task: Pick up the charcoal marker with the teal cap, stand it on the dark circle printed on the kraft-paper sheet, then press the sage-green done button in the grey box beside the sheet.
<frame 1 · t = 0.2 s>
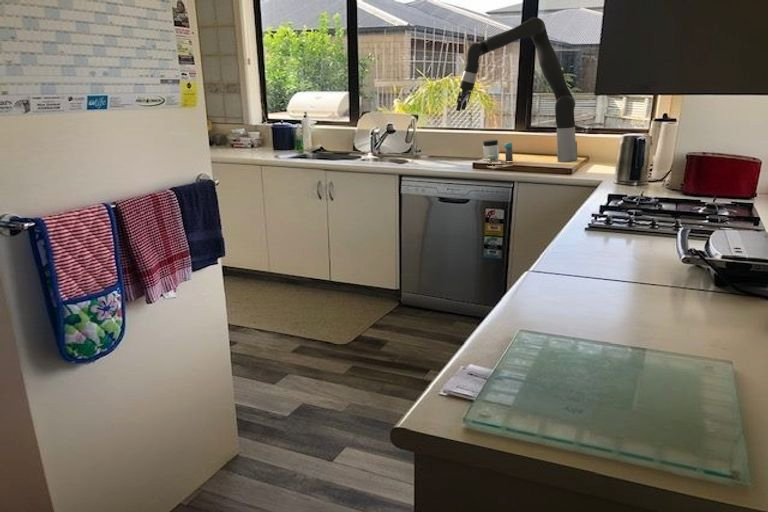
hand: (460, 110, 328), 31 cm above the worktop, tool tilted 20°, fingers open, 8 cm apart
marker: (509, 162, 328), on the worktop
paper: (500, 166, 319), on the worktop
jar: (491, 161, 340), on the worktop
button base: (492, 164, 329), on the worktop
button: (492, 158, 328), point 4 cm above the worktop, slide at 0.0 cm
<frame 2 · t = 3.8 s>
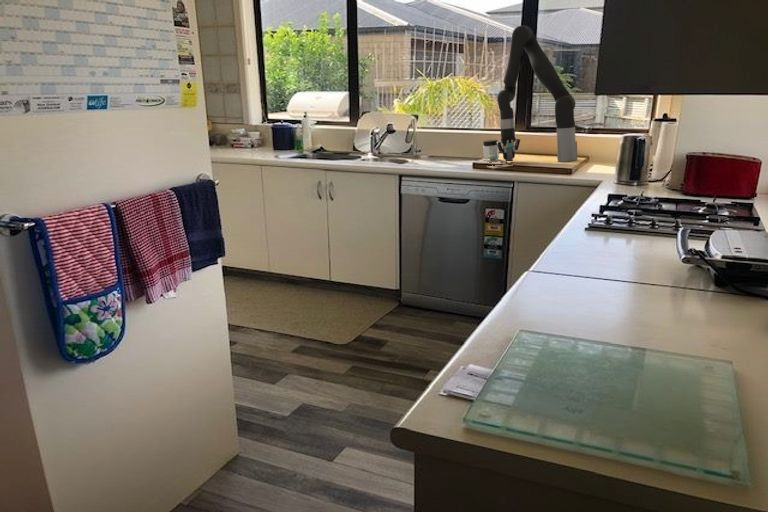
hand: (509, 158, 327), 2 cm above the worktop, tool pointing down, fingers closed on marker, 3 cm apart
marker: (509, 162, 328), on the worktop, touching gripper
everything else where it was.
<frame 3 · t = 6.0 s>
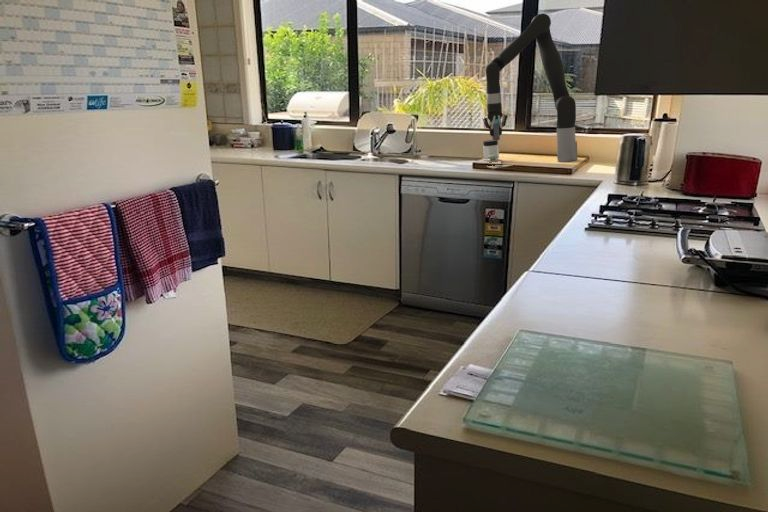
hand: (496, 135, 313), 17 cm above the worktop, tool pointing down, fingers closed on marker, 3 cm apart
marker: (496, 139, 314), point 14 cm above the worktop, touching gripper
everything else where it was.
when the fingers open (4 cm above the worktop, at t = 8.6 s): marker drops 1 cm, resting on paper.
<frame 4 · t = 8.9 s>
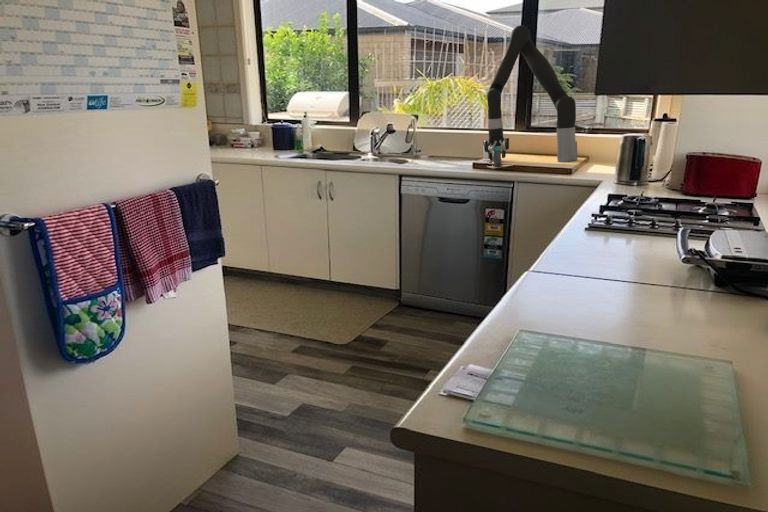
hand: (497, 158, 317), 4 cm above the worktop, tool pointing down, fingers open, 6 cm apart
marker: (497, 166, 318), resting on paper
everything else where it was.
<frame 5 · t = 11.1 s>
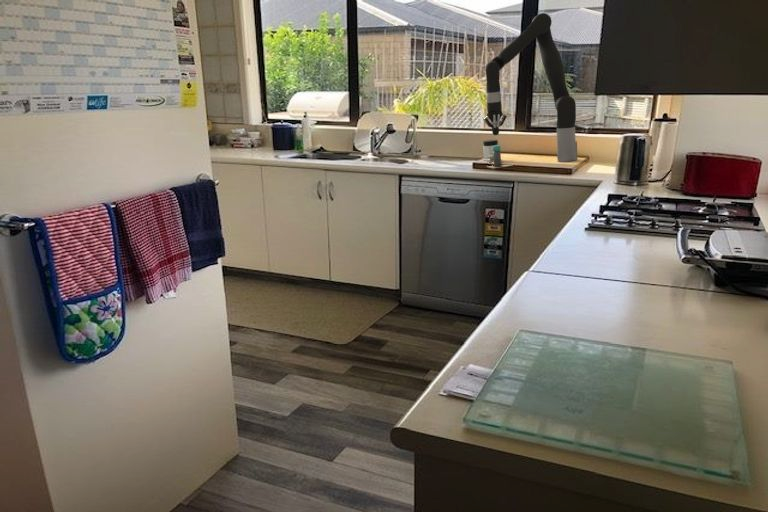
hand: (495, 134, 313), 17 cm above the worktop, tool pointing down, fingers closed
nothing on the worktop moved.
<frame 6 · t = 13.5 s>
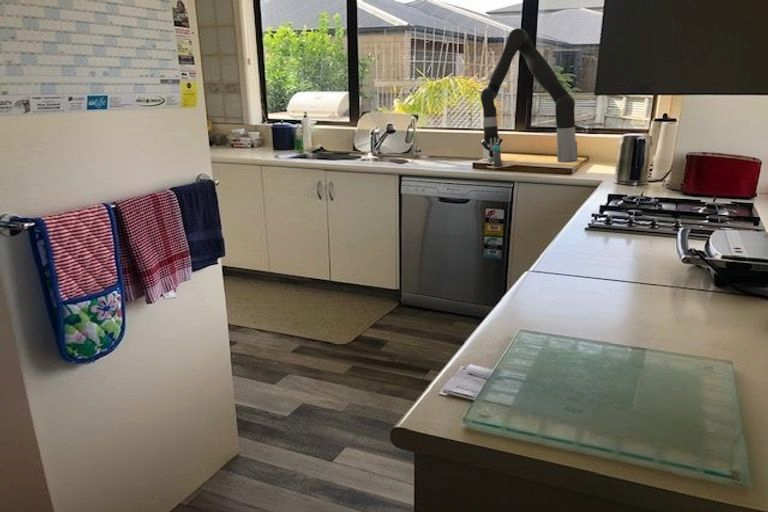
hand: (492, 157, 328), 4 cm above the worktop, tool pointing down, fingers closed
button: (492, 159, 328), point 3 cm above the worktop, slide at 0.9 cm, touching gripper
everything else where it was.
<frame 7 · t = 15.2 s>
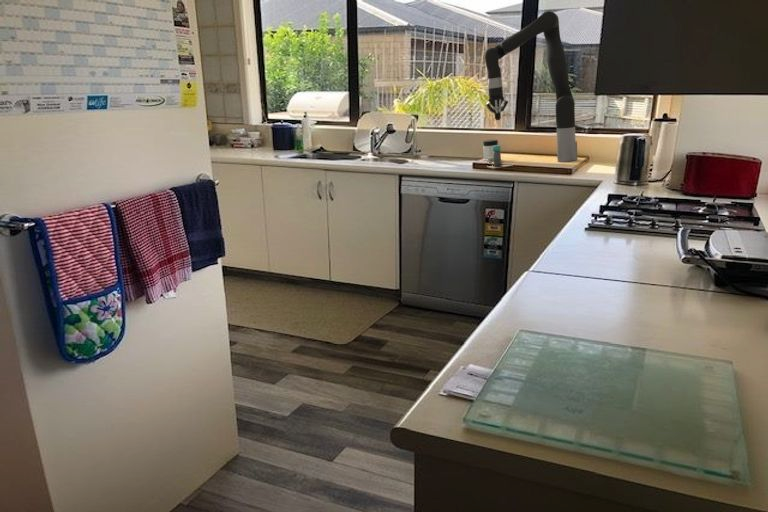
hand: (498, 120, 319), 24 cm above the worktop, tool pointing down, fingers closed
button: (492, 159, 328), point 2 cm above the worktop, slide at 1.0 cm
everything else where it was.
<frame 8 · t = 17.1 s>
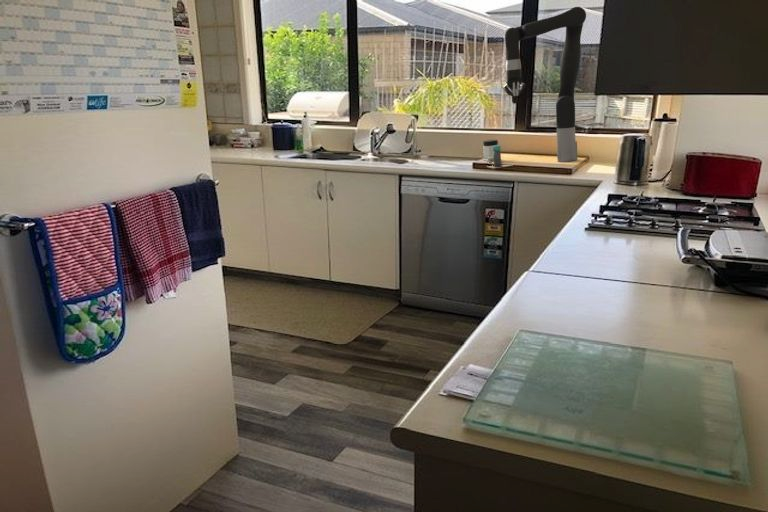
hand: (515, 103, 310), 32 cm above the worktop, tool pointing down, fingers closed
nothing on the worktop moved.
at the end: marker 0.1 cm from the target spot on the paper, point 0.4 cm above the paper's base; marker tilted 0°; button slide at 1.0 cm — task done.
